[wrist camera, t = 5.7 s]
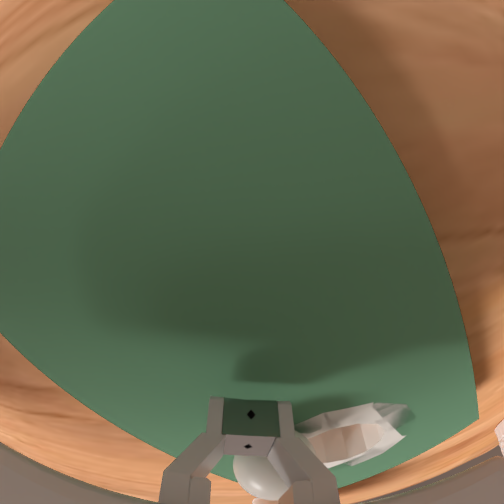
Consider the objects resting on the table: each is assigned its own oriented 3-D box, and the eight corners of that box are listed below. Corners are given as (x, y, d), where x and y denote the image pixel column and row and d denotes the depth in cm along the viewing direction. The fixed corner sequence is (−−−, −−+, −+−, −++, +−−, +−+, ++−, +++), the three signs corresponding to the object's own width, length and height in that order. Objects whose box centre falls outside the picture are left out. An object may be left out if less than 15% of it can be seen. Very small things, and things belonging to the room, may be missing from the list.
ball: (221, 488, 9) (226, 415, 13) (241, 510, 11) (243, 450, 14) (322, 480, 9) (311, 406, 12) (321, 502, 10) (313, 442, 14)
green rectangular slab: (296, 474, 23) (299, 499, 21) (-14, 253, 12) (-45, 279, 9) (466, 393, 18) (479, 418, 16) (216, -27, 7) (206, -65, 4)
